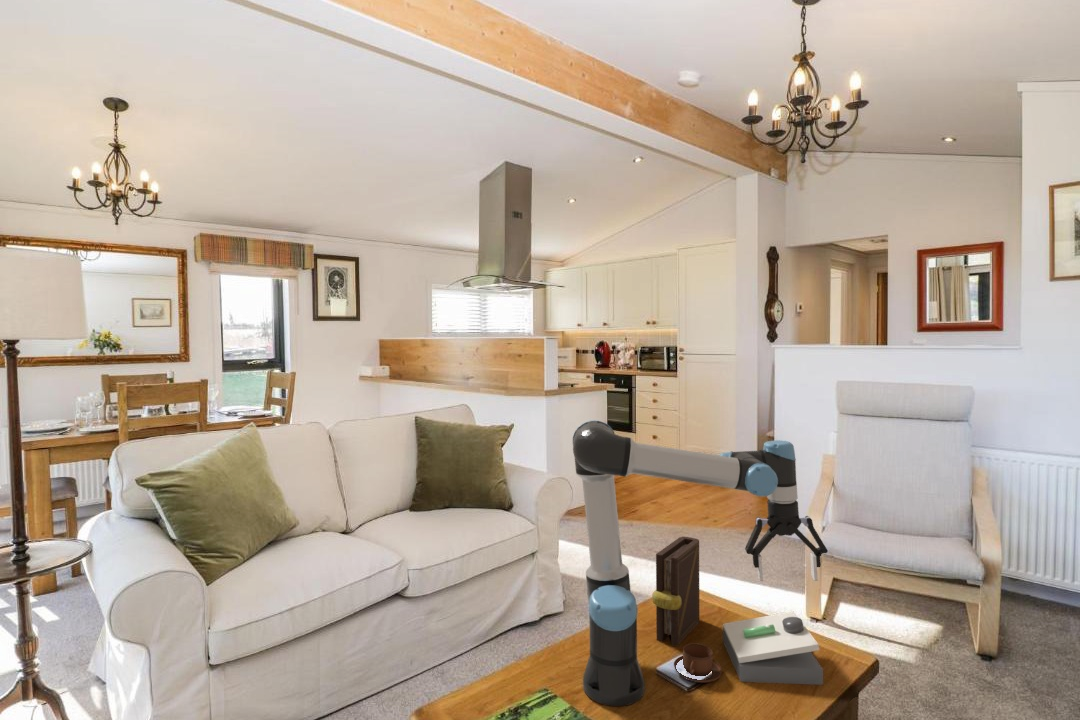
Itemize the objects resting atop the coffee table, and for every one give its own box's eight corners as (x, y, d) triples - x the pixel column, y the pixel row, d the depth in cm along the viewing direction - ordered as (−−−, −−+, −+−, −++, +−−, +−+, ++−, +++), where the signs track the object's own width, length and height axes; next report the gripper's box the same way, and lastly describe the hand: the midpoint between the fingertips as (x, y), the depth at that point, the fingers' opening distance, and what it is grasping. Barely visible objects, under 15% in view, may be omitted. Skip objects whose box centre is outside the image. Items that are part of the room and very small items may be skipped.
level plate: (739, 663, 148) (736, 649, 148) (723, 628, 166) (720, 616, 166) (819, 650, 146) (816, 635, 146) (794, 616, 164) (792, 603, 164)
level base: (740, 681, 147) (740, 666, 147) (722, 641, 167) (722, 627, 167) (822, 684, 146) (823, 669, 145) (795, 643, 165) (795, 629, 165)
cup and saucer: (724, 690, 144) (724, 665, 144) (674, 684, 147) (674, 660, 146) (719, 663, 156) (719, 641, 156) (673, 659, 158) (673, 636, 158)
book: (678, 613, 185) (678, 535, 184) (705, 620, 180) (704, 540, 179) (648, 642, 167) (648, 556, 166) (676, 651, 162) (676, 562, 161)
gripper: (828, 494, 156) (833, 573, 157) (731, 497, 160) (736, 573, 161) (837, 502, 149) (842, 584, 149) (735, 505, 153) (740, 584, 154)
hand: (787, 579), depth 155 cm, fingers open, 13 cm apart
